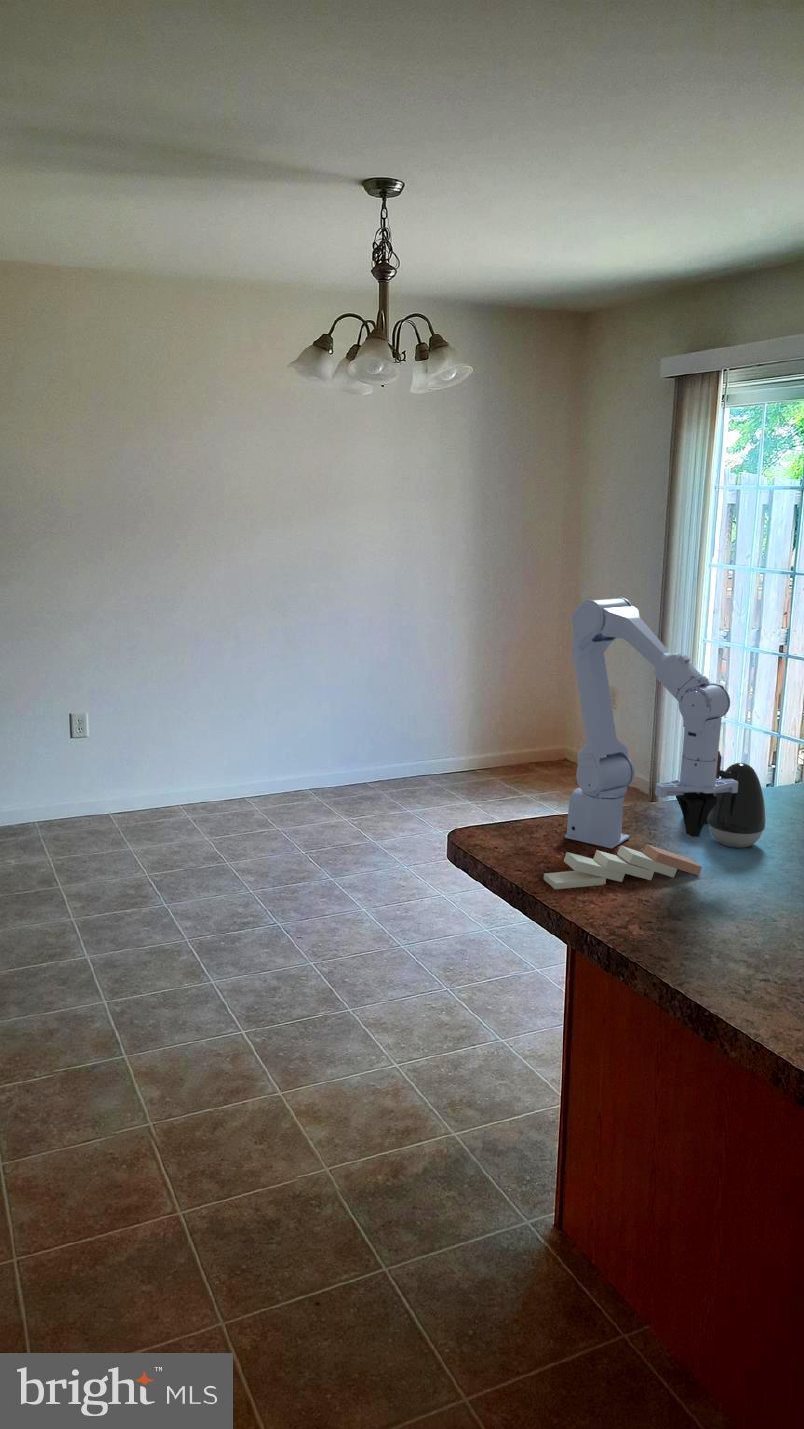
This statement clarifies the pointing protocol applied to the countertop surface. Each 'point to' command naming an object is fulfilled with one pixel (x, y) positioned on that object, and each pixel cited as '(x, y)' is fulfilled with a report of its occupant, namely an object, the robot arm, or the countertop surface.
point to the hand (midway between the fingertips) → (692, 835)
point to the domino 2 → (591, 867)
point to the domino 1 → (572, 879)
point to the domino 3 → (621, 865)
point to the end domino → (672, 859)
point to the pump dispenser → (738, 809)
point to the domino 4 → (645, 861)
